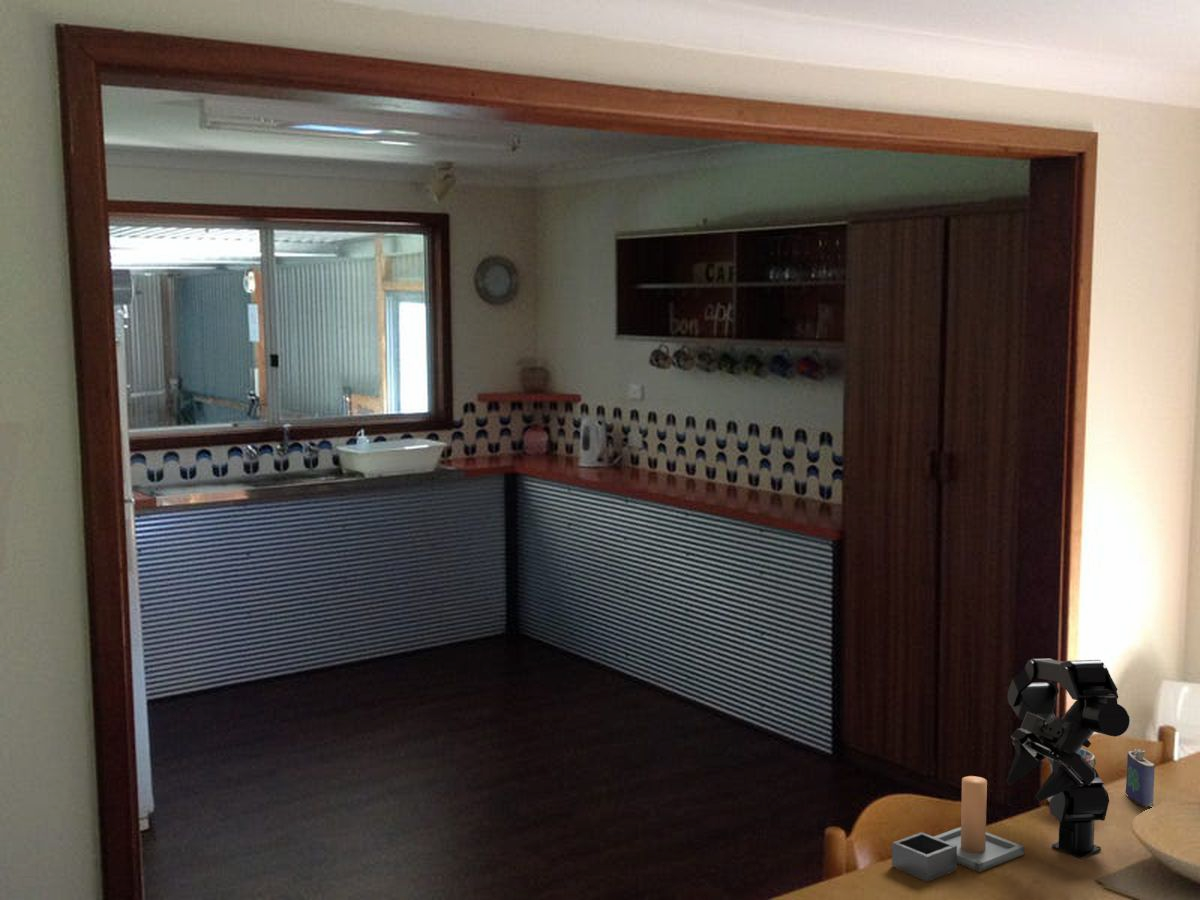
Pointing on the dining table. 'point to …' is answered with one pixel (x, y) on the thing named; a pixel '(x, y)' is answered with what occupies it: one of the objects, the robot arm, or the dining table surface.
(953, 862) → the square socket holder
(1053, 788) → the robot arm
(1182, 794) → the dining table surface
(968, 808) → the peg
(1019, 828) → the dining table surface
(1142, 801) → the flask
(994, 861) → the tray
